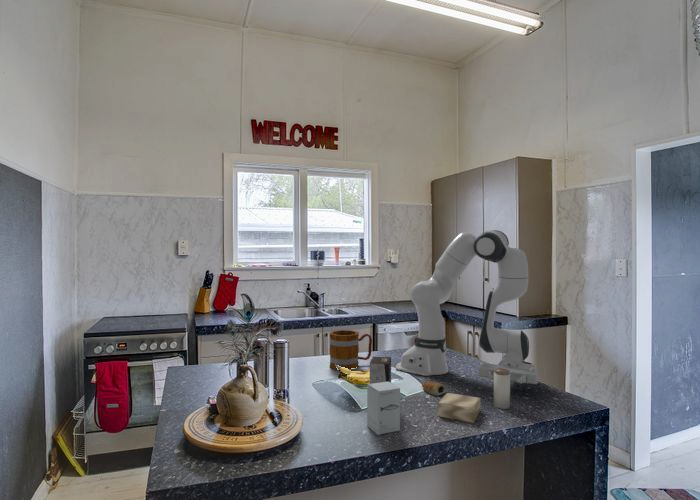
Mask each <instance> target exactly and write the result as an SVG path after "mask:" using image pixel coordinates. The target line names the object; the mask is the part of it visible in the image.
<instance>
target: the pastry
mask: <svg viewBox="0 0 700 500" xmlns="http://www.w3.org/2000/svg"><path fill="white" fill-rule="evenodd" d="M422 387H423V388H424V389H423V388H422ZM421 388H422V389H423V390H424V392H425V393H427V394H430V395H432V396H441V395H445V394H446V392H447V387H446V386H445V384H441V383H440V382H437V381H429V382H428V381H426V382H423V383H422V384H421Z"/></svg>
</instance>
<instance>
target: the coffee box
mask: <svg viewBox="0 0 700 500" xmlns="http://www.w3.org/2000/svg"><path fill="white" fill-rule="evenodd" d="M381 382H390V383H392V357H391V356H372V358H371V360H370V362H369V384H373V383H381Z"/></svg>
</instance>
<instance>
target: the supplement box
mask: <svg viewBox="0 0 700 500" xmlns="http://www.w3.org/2000/svg"><path fill="white" fill-rule="evenodd" d="M366 386H367V387H366V388H367V390H366V392H367V395H366V396H367V397H366V398H367V399H366V402H367V403H366V404H367V405H366V407H367V408H366V411H367V412H366V413H367V415H366V416H367V417H366V418H367V419H366V420H367V421H366V427H368V428H370V430H371V431H372V432H374V433H375V434H376V435H378V436H380V435H384V434H389V433H396V432H399V431H400V430H401V388H400V387H399V386H397V385H396V384H394V383H392V382H391V383H390V382H381V383H373V384H370V383H369V384H367V385H366Z"/></svg>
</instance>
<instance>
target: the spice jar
mask: <svg viewBox="0 0 700 500" xmlns="http://www.w3.org/2000/svg"><path fill="white" fill-rule="evenodd" d="M493 406H494V407H495V408H498V409H502V410H503V409H504V410H507V409H510V408H511V382H510V373H509V370H508V369H504V368H496V369H495V372H494V379H493Z"/></svg>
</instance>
